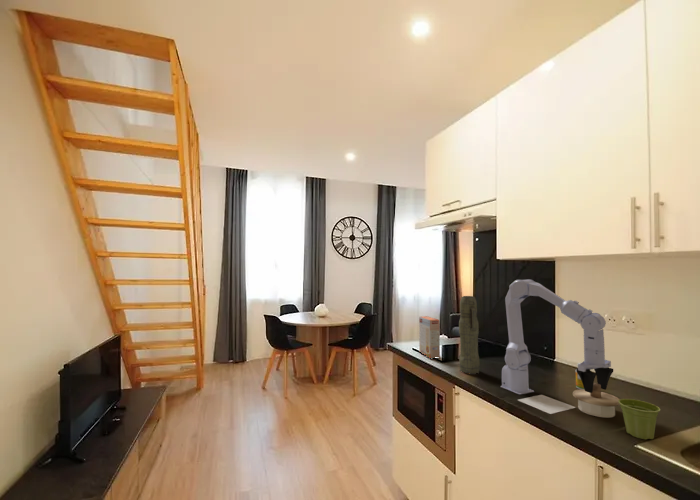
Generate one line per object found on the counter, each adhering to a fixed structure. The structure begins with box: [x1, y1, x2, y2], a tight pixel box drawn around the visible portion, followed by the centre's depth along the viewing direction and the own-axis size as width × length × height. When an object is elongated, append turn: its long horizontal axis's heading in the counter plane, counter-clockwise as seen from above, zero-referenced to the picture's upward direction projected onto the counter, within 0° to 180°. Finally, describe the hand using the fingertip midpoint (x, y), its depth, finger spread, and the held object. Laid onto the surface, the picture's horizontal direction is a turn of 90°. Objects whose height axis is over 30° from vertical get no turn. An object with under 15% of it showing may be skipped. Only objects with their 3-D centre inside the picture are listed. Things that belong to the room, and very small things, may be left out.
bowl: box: [577, 399, 616, 419], centre depth 116 cm, size 10×10×4 cm
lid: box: [572, 382, 620, 407], centre depth 116 cm, size 13×13×5 cm
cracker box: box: [418, 315, 441, 359], centre depth 189 cm, size 14×6×21 cm, turn 12°
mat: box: [517, 394, 577, 415], centre depth 122 cm, size 13×13×1 cm
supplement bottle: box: [575, 362, 584, 390], centre depth 138 cm, size 5×5×10 cm
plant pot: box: [618, 398, 661, 440], centre depth 100 cm, size 9×9×9 cm
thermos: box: [458, 295, 480, 375], centre depth 161 cm, size 9×12×35 cm
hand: (595, 390), depth 116 cm, fingers open, 7 cm apart
